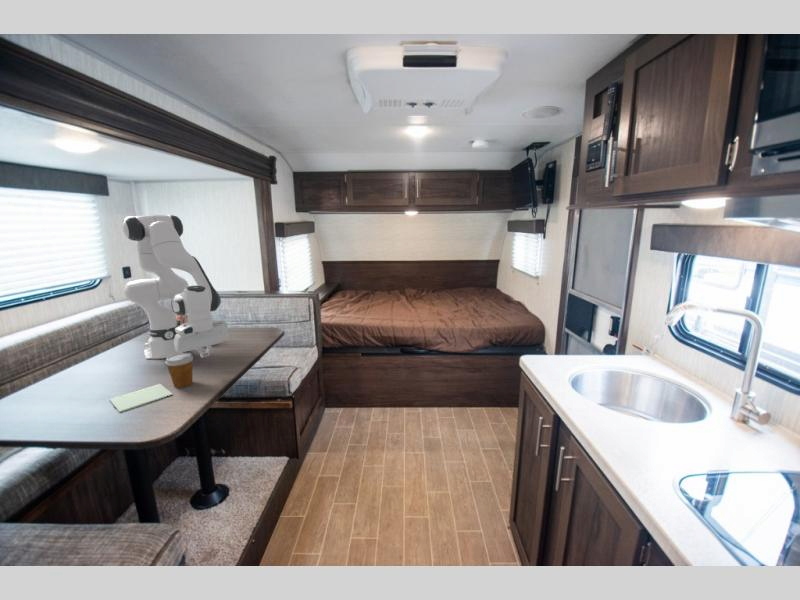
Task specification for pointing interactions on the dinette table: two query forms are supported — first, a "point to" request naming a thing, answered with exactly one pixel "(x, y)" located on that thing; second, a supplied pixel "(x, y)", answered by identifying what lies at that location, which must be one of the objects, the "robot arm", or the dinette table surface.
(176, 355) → the disposable coffee cup
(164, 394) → the mat
